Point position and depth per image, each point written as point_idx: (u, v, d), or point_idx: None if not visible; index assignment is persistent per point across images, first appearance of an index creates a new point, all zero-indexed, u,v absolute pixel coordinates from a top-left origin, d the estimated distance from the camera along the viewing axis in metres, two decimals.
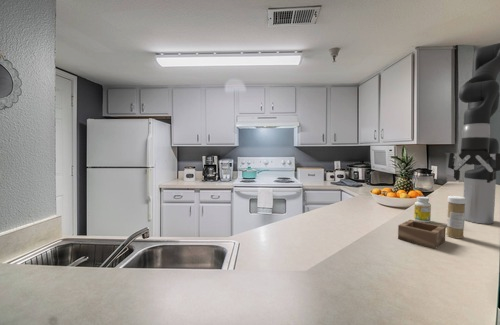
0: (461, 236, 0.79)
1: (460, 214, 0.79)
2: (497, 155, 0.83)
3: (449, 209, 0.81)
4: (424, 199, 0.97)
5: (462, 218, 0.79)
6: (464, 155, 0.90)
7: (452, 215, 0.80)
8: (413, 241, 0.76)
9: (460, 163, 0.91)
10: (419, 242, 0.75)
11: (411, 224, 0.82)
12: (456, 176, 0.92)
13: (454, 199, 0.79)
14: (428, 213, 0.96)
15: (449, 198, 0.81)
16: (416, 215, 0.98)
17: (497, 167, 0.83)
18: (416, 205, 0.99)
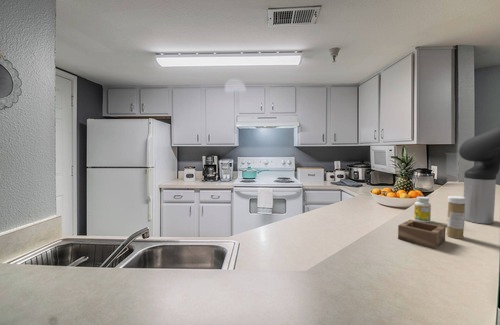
0: (461, 236, 0.79)
1: (460, 214, 0.79)
2: None
3: (449, 209, 0.81)
4: (424, 199, 0.97)
5: (462, 218, 0.79)
6: None
7: (452, 215, 0.80)
8: (413, 241, 0.76)
9: None
10: (419, 242, 0.75)
11: (411, 224, 0.82)
12: None
13: (455, 199, 0.79)
14: (428, 213, 0.96)
15: (449, 198, 0.81)
16: (416, 215, 0.98)
17: None
18: (416, 205, 0.99)
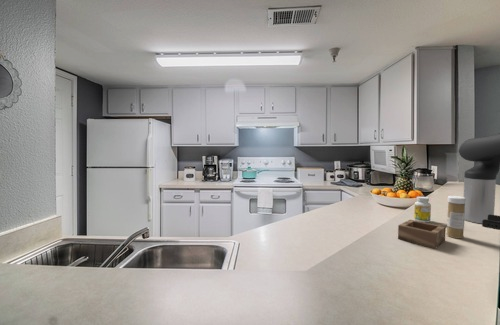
0: (461, 236, 0.79)
1: (460, 214, 0.79)
2: None
3: (449, 209, 0.81)
4: (424, 199, 0.97)
5: (462, 218, 0.79)
6: None
7: (452, 215, 0.80)
8: (413, 241, 0.76)
9: None
10: (419, 242, 0.75)
11: (411, 224, 0.82)
12: (488, 227, 0.72)
13: (454, 199, 0.79)
14: (428, 213, 0.96)
15: (449, 198, 0.81)
16: (416, 215, 0.98)
17: None
18: (416, 205, 0.99)
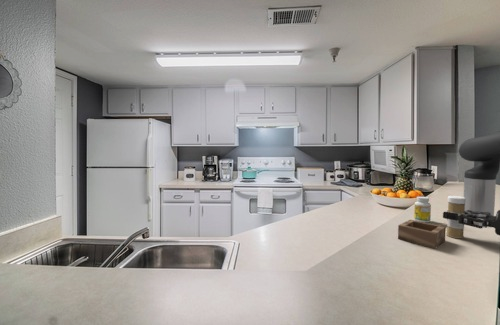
0: (461, 236, 0.79)
1: None
2: None
3: (449, 209, 0.81)
4: (424, 199, 0.97)
5: None
6: None
7: None
8: (413, 241, 0.76)
9: None
10: (419, 242, 0.75)
11: (411, 224, 0.82)
12: (448, 218, 0.80)
13: (455, 199, 0.79)
14: (428, 213, 0.96)
15: (449, 198, 0.81)
16: (416, 215, 0.98)
17: None
18: (416, 205, 0.99)
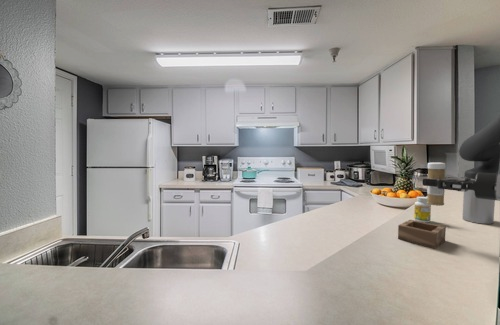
0: (441, 203, 0.76)
1: None
2: None
3: (429, 176, 0.78)
4: (424, 199, 0.97)
5: None
6: None
7: None
8: (413, 241, 0.76)
9: None
10: (419, 242, 0.75)
11: (411, 224, 0.82)
12: (428, 185, 0.77)
13: (434, 164, 0.76)
14: (428, 213, 0.96)
15: (429, 164, 0.78)
16: (416, 215, 0.98)
17: None
18: (416, 205, 0.99)
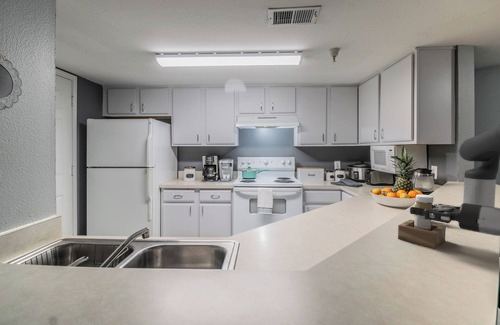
0: None
1: None
2: None
3: None
4: None
5: None
6: None
7: (419, 215, 0.77)
8: (413, 241, 0.76)
9: None
10: (419, 242, 0.75)
11: (411, 224, 0.82)
12: (415, 214, 0.76)
13: (422, 198, 0.76)
14: None
15: (417, 197, 0.78)
16: None
17: None
18: None
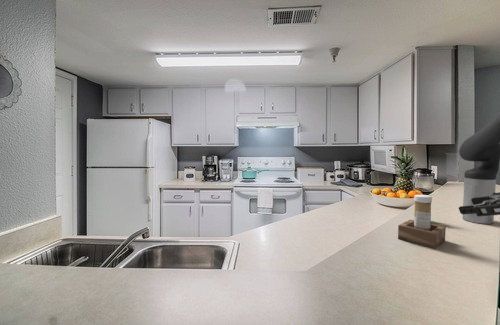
0: None
1: (426, 214, 0.76)
2: None
3: (415, 208, 0.78)
4: None
5: (428, 217, 0.76)
6: None
7: (418, 215, 0.77)
8: (413, 241, 0.76)
9: None
10: (419, 242, 0.75)
11: (411, 224, 0.82)
12: (467, 213, 0.69)
13: (420, 198, 0.76)
14: None
15: (415, 197, 0.78)
16: None
17: None
18: None
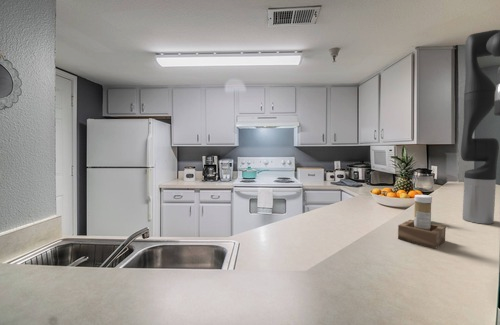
0: None
1: (426, 214, 0.76)
2: None
3: (415, 208, 0.78)
4: None
5: (428, 218, 0.76)
6: None
7: (418, 215, 0.77)
8: (413, 241, 0.76)
9: None
10: (419, 242, 0.75)
11: (411, 224, 0.82)
12: None
13: (420, 198, 0.76)
14: None
15: (415, 197, 0.78)
16: None
17: None
18: None
